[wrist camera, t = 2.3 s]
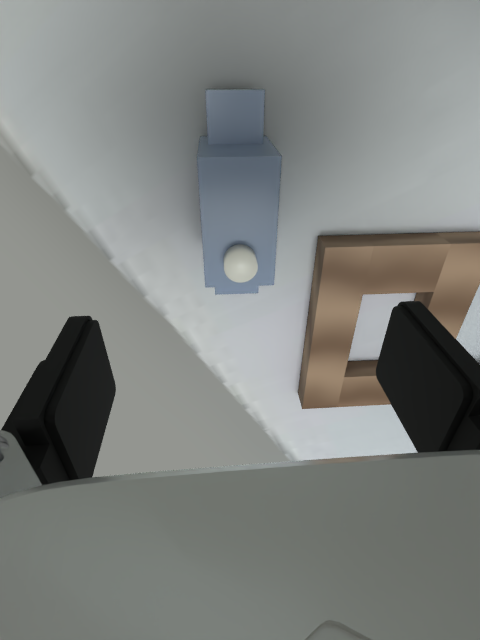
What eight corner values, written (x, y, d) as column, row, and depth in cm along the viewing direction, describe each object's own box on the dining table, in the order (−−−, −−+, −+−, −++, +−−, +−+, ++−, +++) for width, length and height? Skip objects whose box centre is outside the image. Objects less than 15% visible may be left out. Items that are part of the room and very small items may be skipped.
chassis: (318, 236, 26) (325, 247, 24) (479, 231, 27) (497, 242, 25) (297, 392, 35) (302, 408, 34) (418, 386, 36) (428, 402, 34)
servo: (197, 87, 20) (191, 96, 15) (267, 86, 21) (289, 95, 15) (208, 276, 27) (207, 332, 22) (261, 274, 28) (274, 329, 22)
